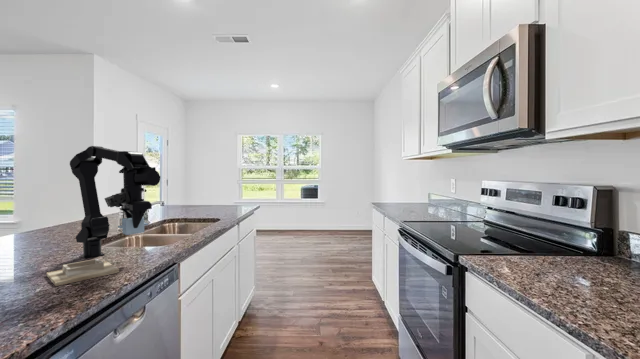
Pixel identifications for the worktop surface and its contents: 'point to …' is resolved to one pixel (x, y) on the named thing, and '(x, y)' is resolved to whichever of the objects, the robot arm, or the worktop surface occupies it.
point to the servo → (131, 226)
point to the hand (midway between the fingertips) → (133, 227)
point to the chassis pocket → (81, 271)
